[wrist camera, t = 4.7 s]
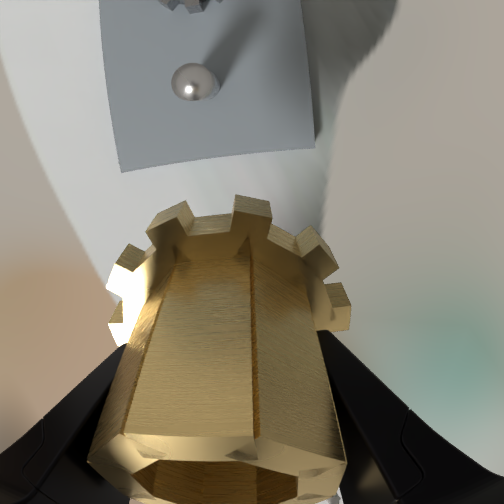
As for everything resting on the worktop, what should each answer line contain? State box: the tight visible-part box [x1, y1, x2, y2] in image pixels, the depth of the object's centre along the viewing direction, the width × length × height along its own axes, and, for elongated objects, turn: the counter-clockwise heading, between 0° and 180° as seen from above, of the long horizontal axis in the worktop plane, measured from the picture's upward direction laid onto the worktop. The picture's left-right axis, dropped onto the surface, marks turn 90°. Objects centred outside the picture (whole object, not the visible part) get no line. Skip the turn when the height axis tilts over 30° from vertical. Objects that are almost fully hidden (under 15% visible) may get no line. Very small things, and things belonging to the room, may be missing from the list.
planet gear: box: [87, 195, 351, 504], centre depth 7 cm, size 7×7×6 cm
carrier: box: [99, 0, 315, 173], centre depth 12 cm, size 14×11×6 cm
